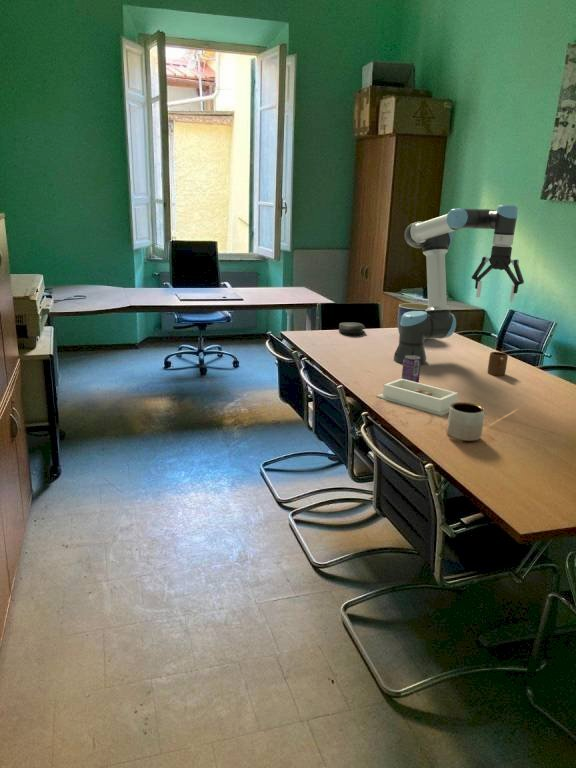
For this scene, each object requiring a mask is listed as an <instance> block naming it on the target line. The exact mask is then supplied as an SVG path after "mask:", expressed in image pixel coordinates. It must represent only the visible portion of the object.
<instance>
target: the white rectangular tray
mask: <svg viewBox="0 0 576 768" xmlns="http://www.w3.org/2000/svg"><path fill="white" fill-rule="evenodd" d="M458 396H459V393H458V392H457V391H456V392H455V391H451V390H448V389H445V388H440V387H436V386H432V385H428V384H425V383H421V382H419V383H417V382H413V381H409V380H406V379H402V378H400V379H395V380H392V381H390V382H388V383H384V384H383V390H382V393H379V394H377V395H375V397H376V398H377V399H378V398H379V399H382V400H386V401H387V402H388V401H389V402H391V403H395V404H399V405H402V406H406V407H409V408H413V409H416V410H420V411H423V412H427V413H429V414H430V413H431V414H433V415H438V416H440V417H443V416H445V415H447V414H449V410H450V405H451V404H453V403H458V402H457V401H458Z"/></svg>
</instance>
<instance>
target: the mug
mask: <svg viewBox="0 0 576 768" xmlns="http://www.w3.org/2000/svg"><path fill="white" fill-rule="evenodd" d="M508 357H509V355H508V354H507V353H506V352H500V351H492V352H490V353H489V357H488V358H489V359H488V365H487V366H488V367H487V373H488V375H491V376H496V377H502V376H505V375H506V372H507V370H506V369H507V364H508Z"/></svg>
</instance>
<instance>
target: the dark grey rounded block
mask: <svg viewBox="0 0 576 768" xmlns="http://www.w3.org/2000/svg"><path fill="white" fill-rule="evenodd" d="M363 330H366V326H365V325H364V324H363V323H360V322H352V321H351V322H340V323H339V324H338V332H339V334H340V335H343V336H348V337H359V336H362V335H363V334H364V333H363V332H364V331H363Z"/></svg>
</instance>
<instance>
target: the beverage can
mask: <svg viewBox="0 0 576 768" xmlns="http://www.w3.org/2000/svg"><path fill="white" fill-rule="evenodd" d="M421 366H422V364H421V361H420V357H419V356H415V355H406V356H405V358H404V360H403V364H402V371H401V379H406V380H409V381H413V382H417V383H420V375H421Z"/></svg>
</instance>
